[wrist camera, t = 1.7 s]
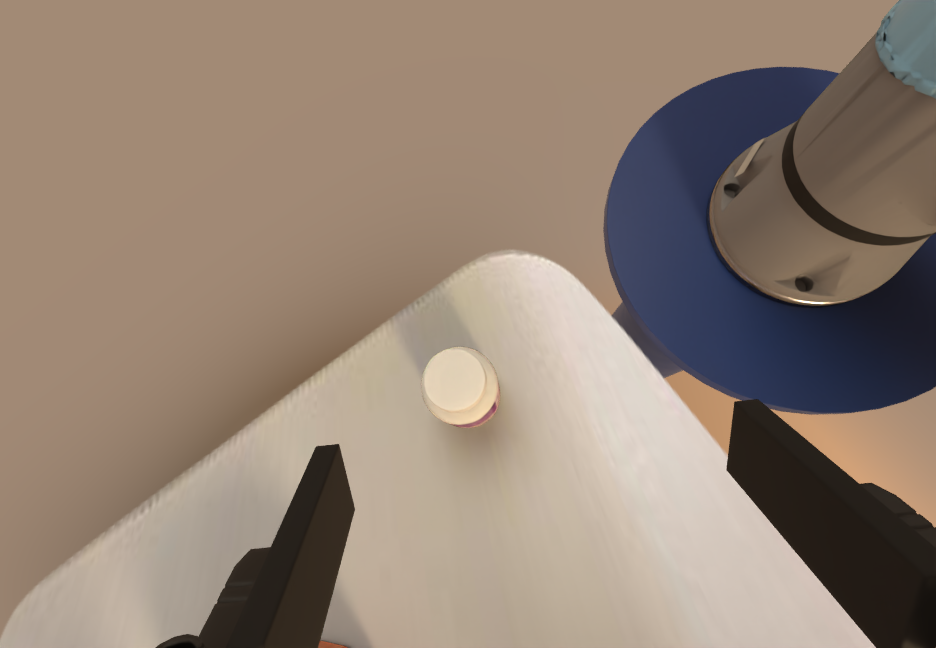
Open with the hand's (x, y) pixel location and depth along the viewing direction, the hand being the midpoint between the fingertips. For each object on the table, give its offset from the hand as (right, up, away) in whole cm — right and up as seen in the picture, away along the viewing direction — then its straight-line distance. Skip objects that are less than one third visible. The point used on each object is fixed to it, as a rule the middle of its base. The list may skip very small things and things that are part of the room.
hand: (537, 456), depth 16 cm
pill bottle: (-2, -1, +23) cm, 23 cm away
